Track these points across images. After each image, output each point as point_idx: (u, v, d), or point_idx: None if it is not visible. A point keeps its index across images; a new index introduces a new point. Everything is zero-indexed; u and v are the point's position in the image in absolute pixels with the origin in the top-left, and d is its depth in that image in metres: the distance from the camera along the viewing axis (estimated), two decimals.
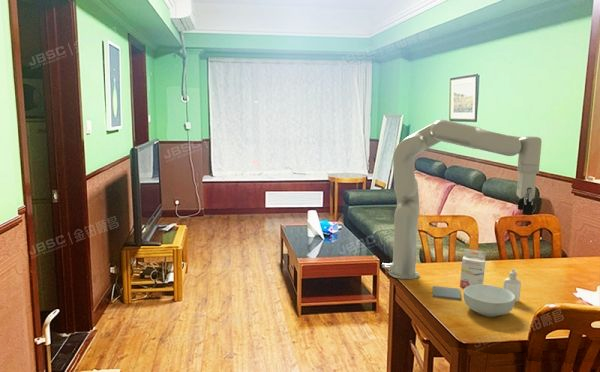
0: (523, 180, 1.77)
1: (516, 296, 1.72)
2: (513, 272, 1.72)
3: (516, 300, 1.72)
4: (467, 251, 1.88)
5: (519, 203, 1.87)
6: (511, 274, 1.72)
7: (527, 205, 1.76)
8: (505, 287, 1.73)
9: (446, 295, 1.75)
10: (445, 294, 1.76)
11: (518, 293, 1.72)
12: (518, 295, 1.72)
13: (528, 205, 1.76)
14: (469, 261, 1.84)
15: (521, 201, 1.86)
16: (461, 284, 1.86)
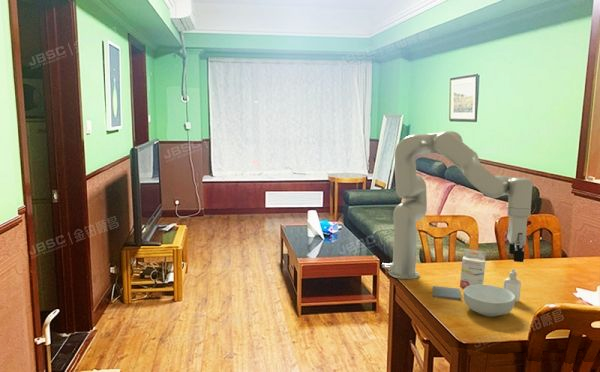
0: (513, 225, 1.66)
1: (516, 296, 1.72)
2: (513, 272, 1.72)
3: (516, 300, 1.72)
4: (467, 251, 1.88)
5: (510, 247, 1.75)
6: (511, 274, 1.72)
7: (518, 251, 1.65)
8: (505, 287, 1.73)
9: (446, 295, 1.75)
10: (445, 294, 1.76)
11: (518, 293, 1.72)
12: (518, 295, 1.72)
13: (519, 251, 1.65)
14: (469, 261, 1.84)
15: (512, 245, 1.75)
16: (461, 284, 1.86)
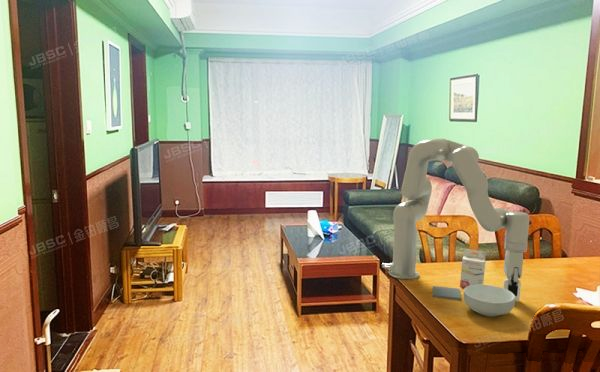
0: (510, 259, 1.68)
1: (516, 296, 1.72)
2: None
3: (516, 300, 1.72)
4: (467, 251, 1.88)
5: None
6: None
7: (512, 286, 1.70)
8: (505, 287, 1.73)
9: (446, 295, 1.75)
10: (445, 294, 1.76)
11: (518, 293, 1.72)
12: (518, 295, 1.72)
13: (513, 286, 1.70)
14: (469, 261, 1.84)
15: None
16: (461, 284, 1.86)
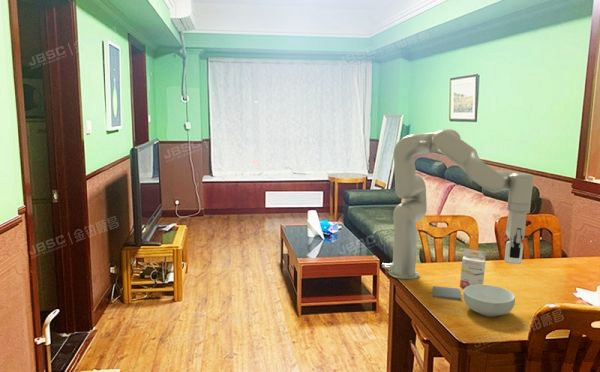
0: (512, 220, 1.66)
1: (518, 259, 1.70)
2: None
3: (518, 262, 1.70)
4: (467, 251, 1.88)
5: None
6: None
7: (514, 248, 1.68)
8: (507, 249, 1.71)
9: (446, 295, 1.75)
10: (445, 294, 1.76)
11: (520, 255, 1.70)
12: (520, 257, 1.70)
13: (515, 248, 1.68)
14: (469, 261, 1.84)
15: None
16: (461, 284, 1.86)
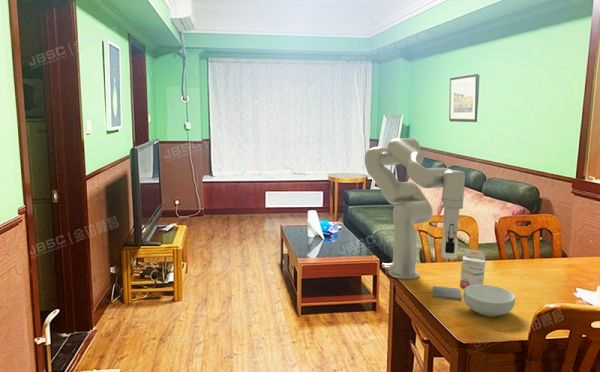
0: (445, 216, 1.71)
1: (454, 254, 1.75)
2: None
3: (454, 257, 1.75)
4: (467, 251, 1.88)
5: None
6: None
7: (449, 243, 1.73)
8: (443, 245, 1.75)
9: (446, 295, 1.75)
10: (445, 294, 1.76)
11: (455, 250, 1.75)
12: (455, 252, 1.75)
13: (450, 243, 1.73)
14: (469, 261, 1.84)
15: None
16: (461, 284, 1.86)
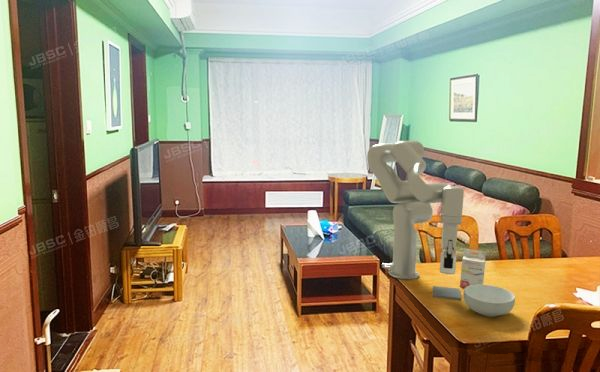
0: (444, 232, 1.72)
1: (452, 269, 1.76)
2: None
3: (452, 272, 1.76)
4: (467, 251, 1.88)
5: None
6: None
7: (447, 259, 1.74)
8: (441, 260, 1.77)
9: (446, 295, 1.75)
10: (445, 294, 1.76)
11: (454, 266, 1.76)
12: (454, 267, 1.76)
13: (448, 259, 1.74)
14: (469, 261, 1.84)
15: None
16: (461, 284, 1.86)
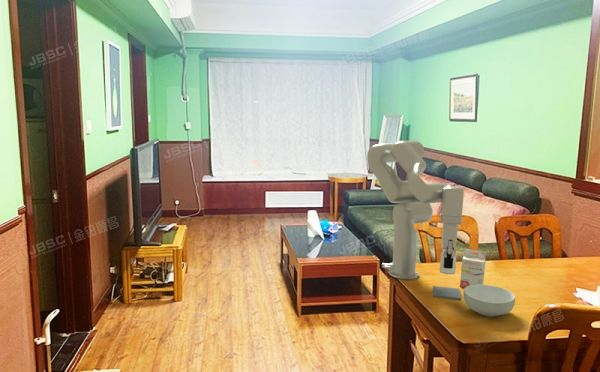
0: (444, 232, 1.72)
1: (452, 269, 1.76)
2: None
3: (452, 272, 1.76)
4: (467, 251, 1.88)
5: None
6: None
7: (447, 259, 1.74)
8: (441, 260, 1.77)
9: (446, 295, 1.75)
10: (445, 294, 1.76)
11: (454, 266, 1.76)
12: (454, 267, 1.76)
13: (448, 259, 1.74)
14: (469, 261, 1.84)
15: None
16: (461, 284, 1.86)
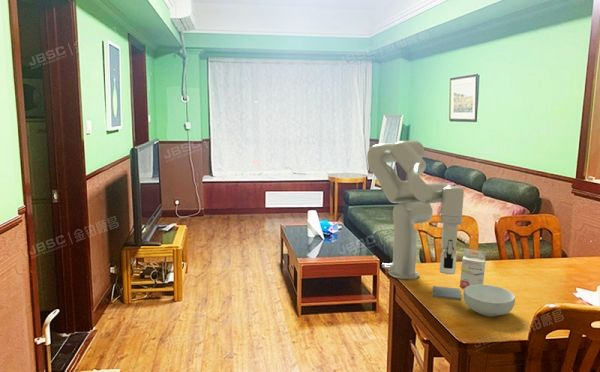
0: (444, 232, 1.72)
1: (452, 269, 1.76)
2: None
3: (452, 272, 1.76)
4: (467, 251, 1.88)
5: None
6: None
7: (447, 259, 1.74)
8: (441, 260, 1.77)
9: (446, 295, 1.75)
10: (445, 294, 1.76)
11: (454, 266, 1.76)
12: (454, 267, 1.76)
13: (448, 259, 1.74)
14: (469, 261, 1.84)
15: None
16: (461, 284, 1.86)
